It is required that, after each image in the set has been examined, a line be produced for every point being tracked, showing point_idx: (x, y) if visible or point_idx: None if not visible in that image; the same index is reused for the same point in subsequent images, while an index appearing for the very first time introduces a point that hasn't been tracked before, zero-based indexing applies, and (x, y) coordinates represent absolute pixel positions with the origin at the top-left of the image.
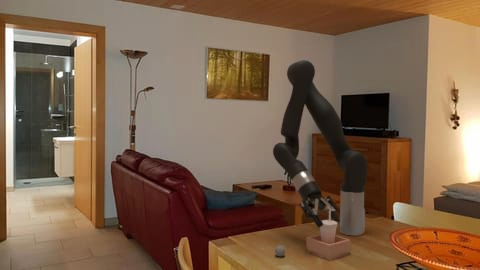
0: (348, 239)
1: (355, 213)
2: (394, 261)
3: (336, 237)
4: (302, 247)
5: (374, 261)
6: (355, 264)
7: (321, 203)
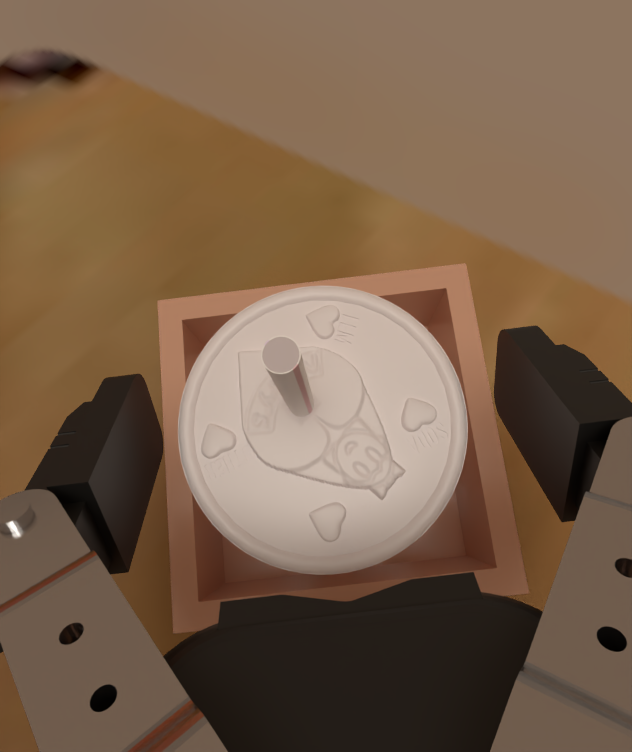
0: (166, 319)
1: None
2: (45, 113)
3: None
4: None
5: (159, 166)
6: (318, 181)
7: (284, 735)
